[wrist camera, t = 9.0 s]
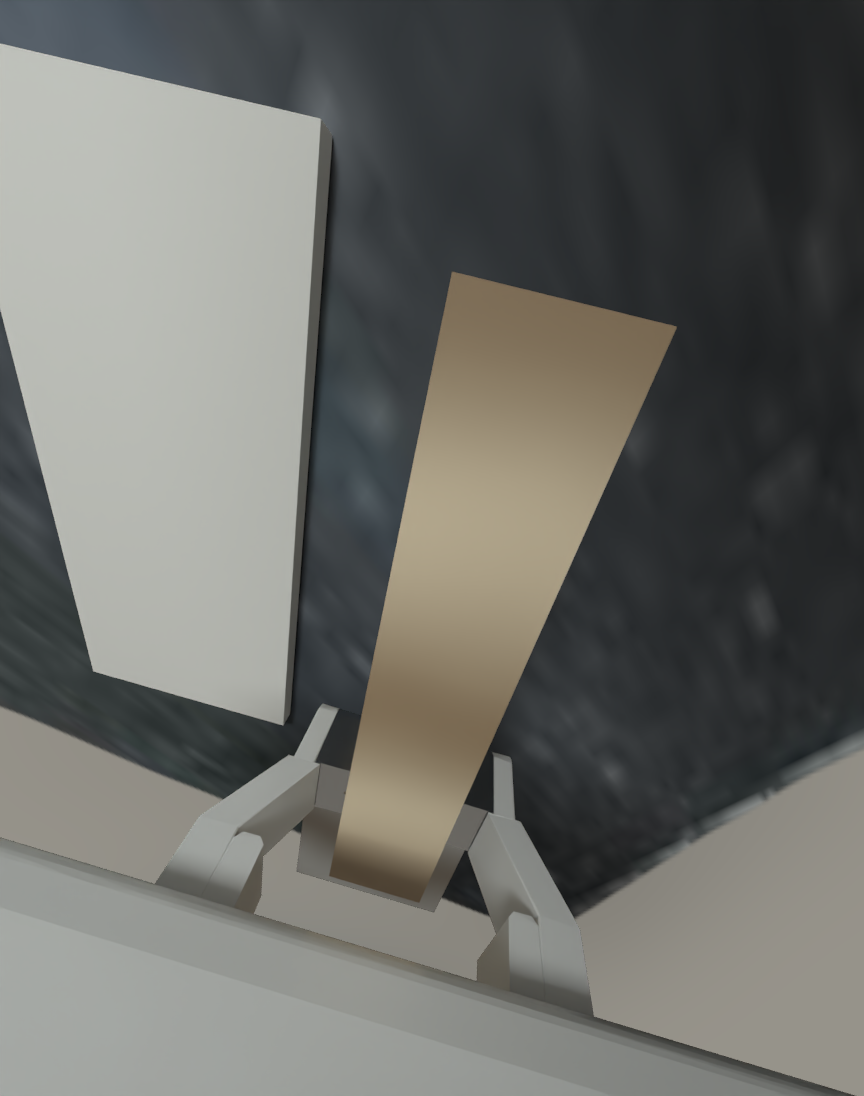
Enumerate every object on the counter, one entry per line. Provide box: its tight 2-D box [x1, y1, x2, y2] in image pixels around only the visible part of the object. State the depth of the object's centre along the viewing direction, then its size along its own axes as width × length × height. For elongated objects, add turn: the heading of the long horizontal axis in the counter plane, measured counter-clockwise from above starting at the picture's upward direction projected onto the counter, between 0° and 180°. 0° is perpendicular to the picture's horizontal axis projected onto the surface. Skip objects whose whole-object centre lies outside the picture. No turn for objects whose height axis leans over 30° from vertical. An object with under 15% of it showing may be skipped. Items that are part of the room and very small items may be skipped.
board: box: [0, 44, 332, 725], centre depth 16 cm, size 24×11×1 cm, turn 167°
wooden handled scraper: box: [297, 272, 677, 912], centre depth 10 cm, size 21×6×4 cm, turn 167°
